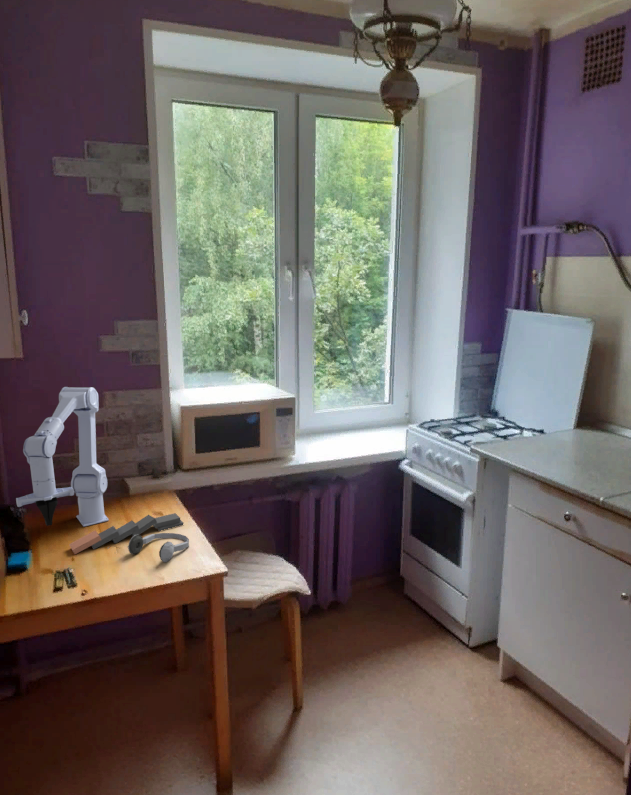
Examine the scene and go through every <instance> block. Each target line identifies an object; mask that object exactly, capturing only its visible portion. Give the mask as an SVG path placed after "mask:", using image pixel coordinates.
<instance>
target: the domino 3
mask: <svg viewBox="0 0 631 795" xmlns="http://www.w3.org/2000/svg"><path fill="white" fill-rule="evenodd" d="M136 523H137V522H135V521H134V520H130V521H128V522H127V523H125V524H122V525H121V526H120V527H119V528H117V529H116V528H115V529H116V530H117V531H118V533H119V535H120V536H118V537H116V538H114V539H112V540H111V541H112V542H113V544H115V545H116V544H118V543H119V542H121V541H122V540H124V539H126V538H127V537H129V536H131V534H132V533H134V532H136V531H137V530H139V527H138V525H137V524H136Z"/></svg>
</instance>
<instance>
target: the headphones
mask: <svg viewBox="0 0 631 795" xmlns="http://www.w3.org/2000/svg"><path fill="white" fill-rule="evenodd" d="M174 538H175V539H178V540H182V541H184V542H181V543H177V544H174V543H172V542H173V541H172V542H171V541H166V542H164V543H163V544H162V545H161V547H160V548H159V551H158V555H159V559H160V561H161V562H163V563H167V562H169V561H170V560H172V558H173V555H174V553H176V552H180V551H184V549H187V548H188V547H190V544H189V543H190V539H189V538H188V536H186V535H184V534H182V533H181V534H180V533H173V532H160V533H152V534H149V535H146V536H144V537H142V535H141V534H140V535H138V534H137V535H134V536H131V538H130V539H129V542H128V544H127V545H128V546H127V549H128V552H129V554H131V555H133V556H134V555H137V554H138V553H140V552H141V551H142V549H143V547H144V545H146V544H148V543H151V542H152V541H153V540H157V539H158V540H159V539H174ZM111 547H112V545H111V546H108V547H107V549H109V548H111ZM114 547H115V548H117V549H119V547H117V546H115V545H114Z"/></svg>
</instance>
